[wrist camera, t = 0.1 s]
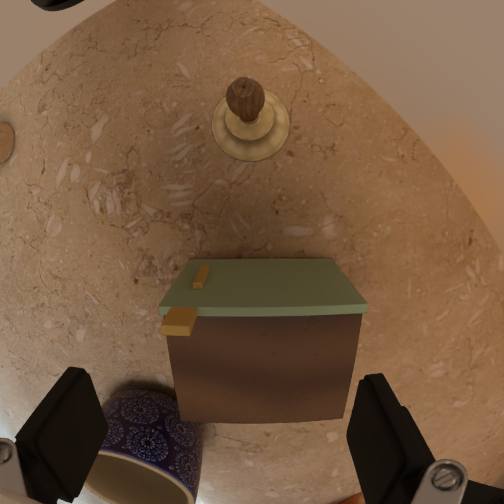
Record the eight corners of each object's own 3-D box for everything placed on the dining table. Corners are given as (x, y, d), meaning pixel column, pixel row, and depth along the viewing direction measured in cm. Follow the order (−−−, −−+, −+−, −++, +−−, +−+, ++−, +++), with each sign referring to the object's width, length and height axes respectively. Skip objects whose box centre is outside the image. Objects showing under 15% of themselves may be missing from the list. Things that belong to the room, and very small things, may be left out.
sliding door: (188, 253, 35) (145, 316, 20) (331, 252, 35) (383, 313, 20) (189, 265, 35) (147, 334, 20) (330, 264, 35) (380, 331, 20)
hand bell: (225, 172, 33) (201, 175, 18) (201, 102, 31) (161, 52, 16) (299, 148, 32) (338, 133, 17) (275, 79, 30) (292, 13, 15)
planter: (91, 373, 40) (47, 439, 26) (195, 374, 40) (174, 458, 25) (126, 445, 45) (102, 508, 30) (217, 449, 44) (209, 522, 30)
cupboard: (190, 269, 36) (163, 315, 24) (330, 268, 36) (362, 313, 24) (198, 356, 39) (181, 420, 27) (321, 355, 39) (342, 418, 27)
